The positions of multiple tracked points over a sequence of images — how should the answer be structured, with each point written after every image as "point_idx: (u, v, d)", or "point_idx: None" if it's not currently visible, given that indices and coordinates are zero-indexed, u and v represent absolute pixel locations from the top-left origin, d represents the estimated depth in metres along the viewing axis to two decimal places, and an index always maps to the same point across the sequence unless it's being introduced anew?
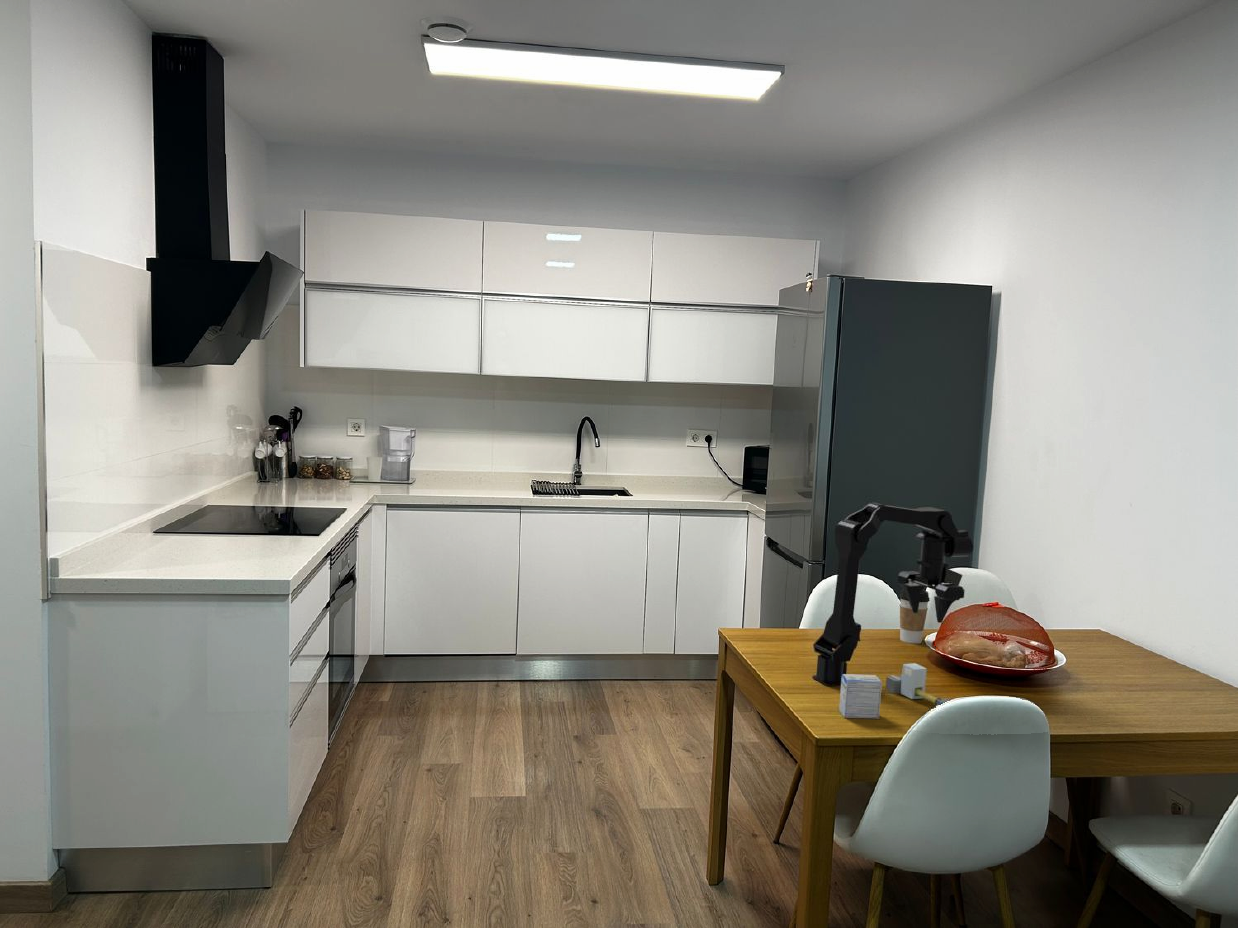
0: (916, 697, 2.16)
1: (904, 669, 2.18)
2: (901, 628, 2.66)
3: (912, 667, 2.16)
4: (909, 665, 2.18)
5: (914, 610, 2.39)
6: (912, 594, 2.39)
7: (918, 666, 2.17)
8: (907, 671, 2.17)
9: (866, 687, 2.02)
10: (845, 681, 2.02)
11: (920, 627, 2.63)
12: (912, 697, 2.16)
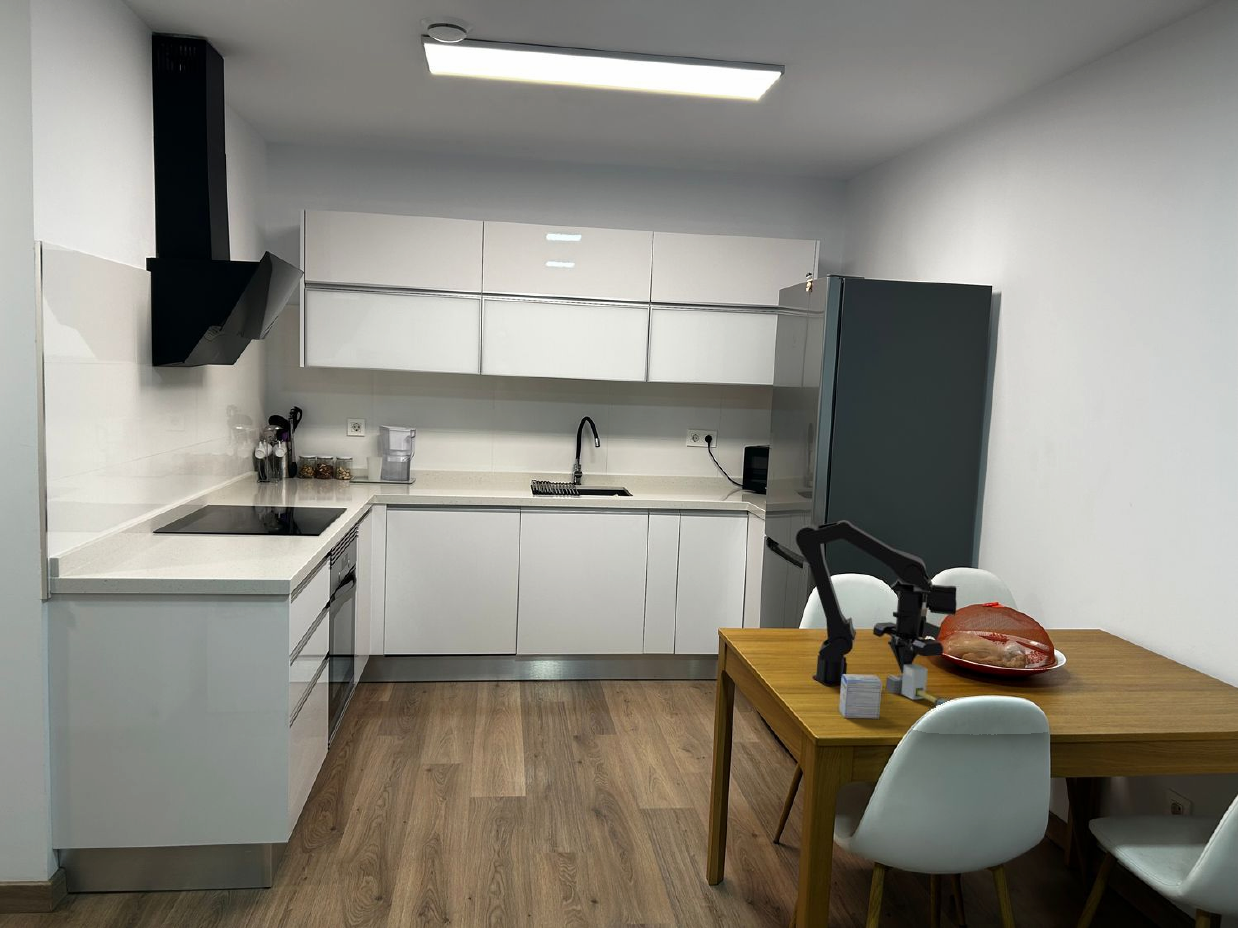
0: (917, 697, 2.16)
1: (904, 670, 2.18)
2: None
3: (913, 667, 2.16)
4: (910, 665, 2.18)
5: None
6: None
7: (919, 666, 2.17)
8: (908, 671, 2.17)
9: (866, 687, 2.02)
10: (845, 681, 2.02)
11: None
12: (913, 697, 2.15)
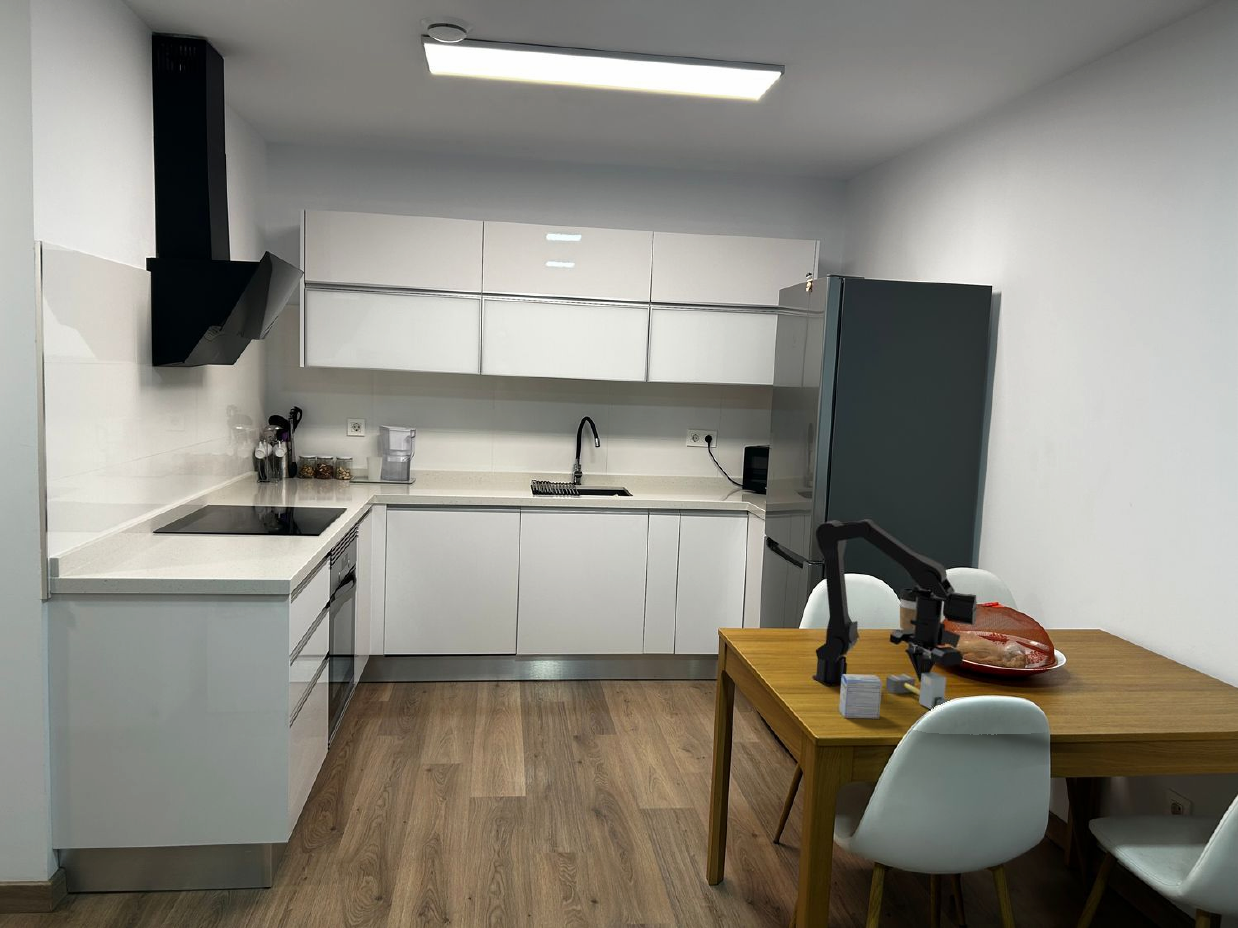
0: None
1: (922, 679, 2.12)
2: (901, 628, 2.66)
3: (931, 676, 2.10)
4: (928, 674, 2.12)
5: (920, 679, 2.15)
6: None
7: (937, 675, 2.11)
8: (926, 680, 2.11)
9: (866, 687, 2.02)
10: (845, 681, 2.02)
11: None
12: (931, 707, 2.10)
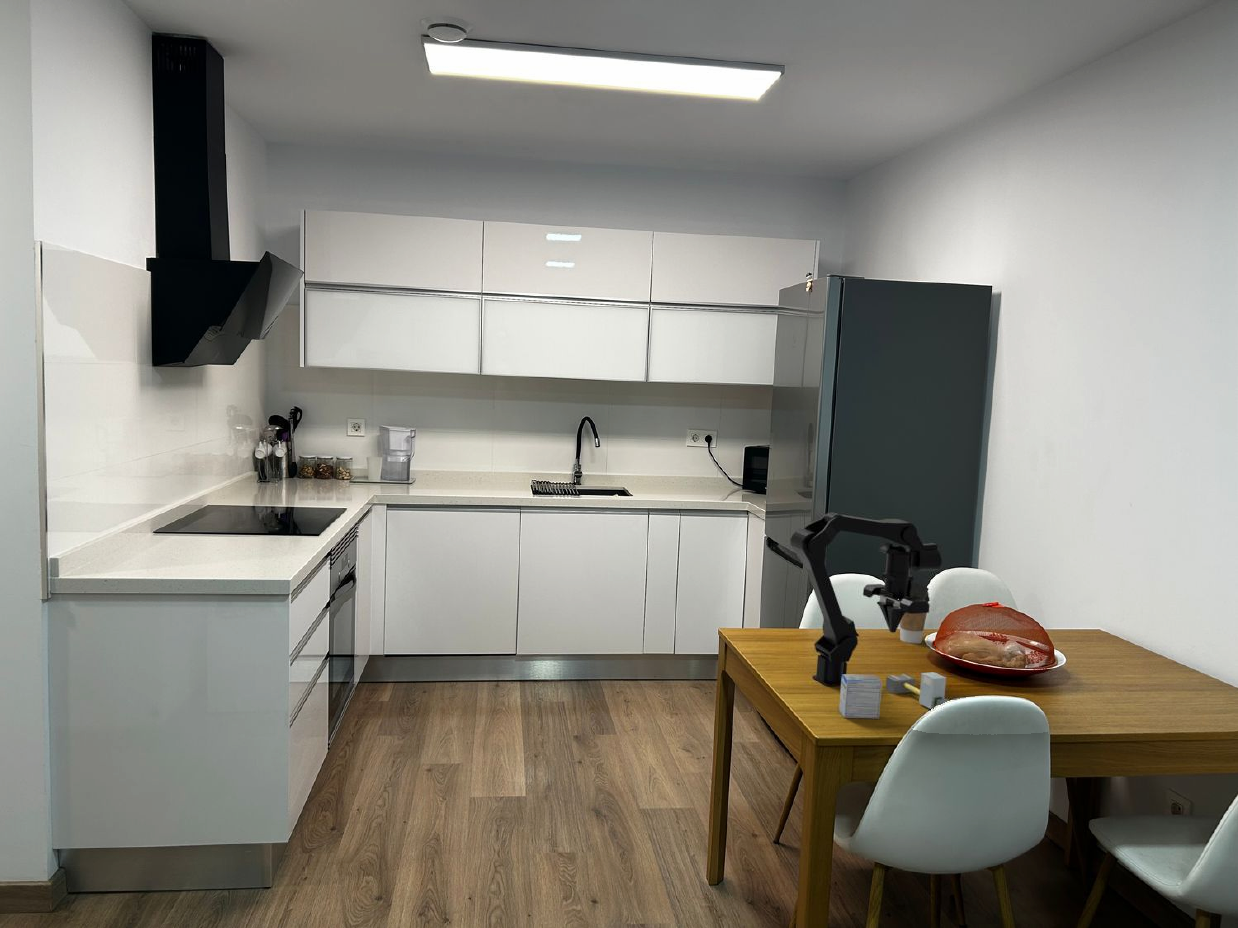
0: None
1: (922, 679, 2.12)
2: (901, 628, 2.66)
3: (931, 676, 2.10)
4: (928, 674, 2.12)
5: None
6: None
7: (937, 675, 2.11)
8: (926, 680, 2.11)
9: (866, 687, 2.02)
10: (845, 681, 2.02)
11: (920, 627, 2.63)
12: (931, 707, 2.10)
